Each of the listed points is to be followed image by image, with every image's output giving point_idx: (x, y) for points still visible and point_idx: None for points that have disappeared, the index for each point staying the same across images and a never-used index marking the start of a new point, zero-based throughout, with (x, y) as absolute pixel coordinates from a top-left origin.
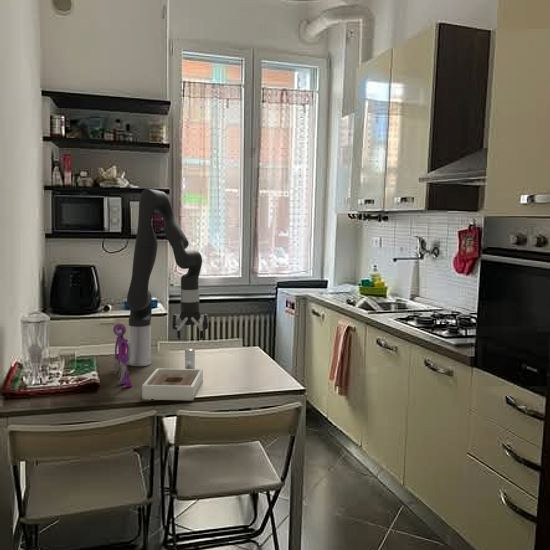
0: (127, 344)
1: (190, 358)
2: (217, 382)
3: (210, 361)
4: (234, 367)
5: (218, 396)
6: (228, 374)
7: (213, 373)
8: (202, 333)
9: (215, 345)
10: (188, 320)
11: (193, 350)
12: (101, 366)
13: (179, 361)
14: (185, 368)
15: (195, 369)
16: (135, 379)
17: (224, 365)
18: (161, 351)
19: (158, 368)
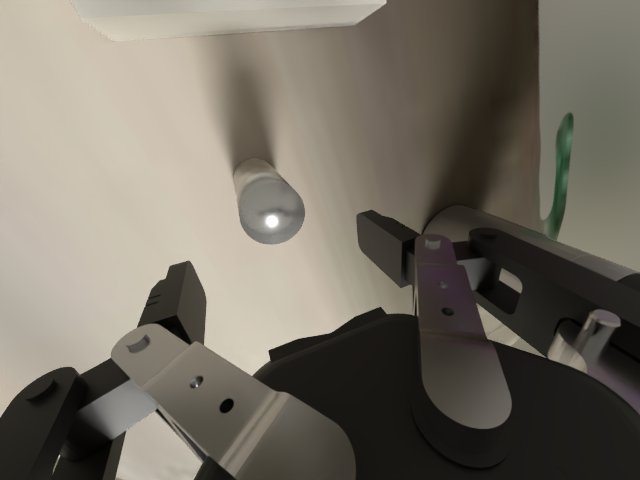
0: None
1: (251, 176)
2: (7, 44)
3: (248, 340)
4: (108, 320)
5: None
6: (59, 219)
7: (150, 212)
8: (151, 313)
9: None
10: (391, 384)
11: (241, 204)
12: (536, 177)
13: (345, 300)
14: (273, 168)
15: (135, 5)
16: (438, 37)
17: None
18: None
19: (377, 2)
